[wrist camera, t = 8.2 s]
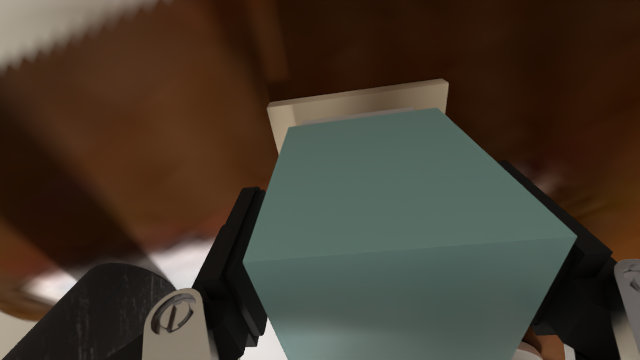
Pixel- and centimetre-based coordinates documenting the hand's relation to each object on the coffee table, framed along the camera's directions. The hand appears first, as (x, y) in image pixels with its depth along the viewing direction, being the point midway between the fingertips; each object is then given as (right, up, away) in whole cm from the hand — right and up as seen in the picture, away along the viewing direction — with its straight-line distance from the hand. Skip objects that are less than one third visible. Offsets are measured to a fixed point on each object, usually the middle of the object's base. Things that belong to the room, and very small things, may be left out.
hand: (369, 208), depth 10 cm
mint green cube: (0, +1, +2) cm, 2 cm away
